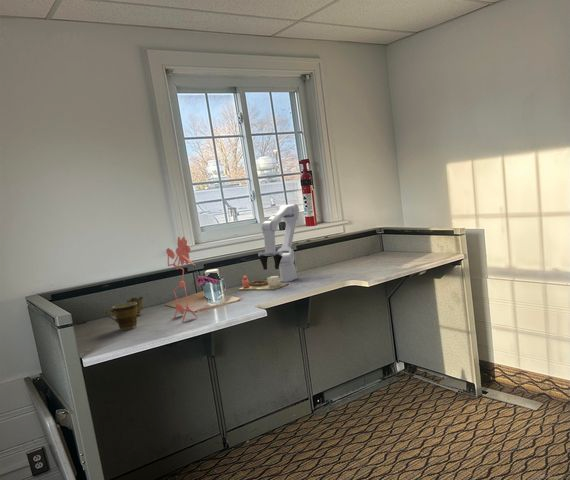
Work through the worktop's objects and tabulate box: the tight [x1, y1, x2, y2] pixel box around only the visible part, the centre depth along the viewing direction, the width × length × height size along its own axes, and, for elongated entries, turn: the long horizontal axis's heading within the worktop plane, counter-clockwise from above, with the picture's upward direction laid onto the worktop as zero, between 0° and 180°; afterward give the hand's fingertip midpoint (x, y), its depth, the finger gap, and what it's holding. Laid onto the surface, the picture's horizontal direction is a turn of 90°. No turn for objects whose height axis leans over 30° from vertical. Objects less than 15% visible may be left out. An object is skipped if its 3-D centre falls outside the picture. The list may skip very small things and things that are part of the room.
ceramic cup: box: [105, 302, 138, 332], centre depth 211 cm, size 13×10×10 cm
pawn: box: [241, 275, 250, 288], centre depth 271 cm, size 3×3×6 cm
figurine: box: [165, 236, 210, 321], centre depth 220 cm, size 15×26×35 cm, turn 36°
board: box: [238, 280, 290, 291], centre depth 270 cm, size 14×23×2 cm, turn 56°
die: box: [266, 275, 281, 286], centre depth 269 cm, size 5×5×5 cm
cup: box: [126, 296, 144, 317], centre depth 237 cm, size 8×7×8 cm
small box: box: [204, 268, 220, 277], centre depth 265 cm, size 8×6×13 cm
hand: (271, 269), depth 268 cm, fingers open, 7 cm apart
